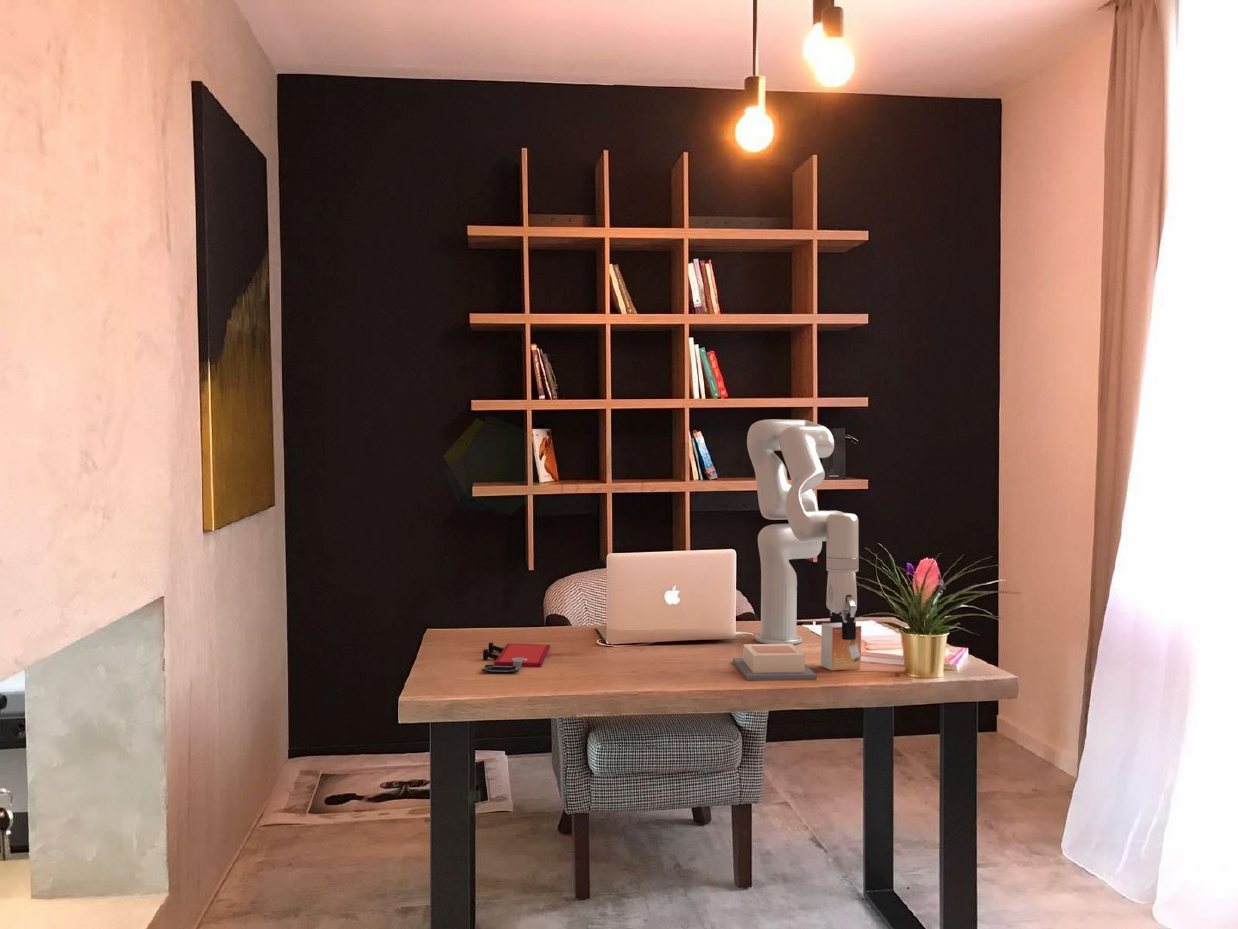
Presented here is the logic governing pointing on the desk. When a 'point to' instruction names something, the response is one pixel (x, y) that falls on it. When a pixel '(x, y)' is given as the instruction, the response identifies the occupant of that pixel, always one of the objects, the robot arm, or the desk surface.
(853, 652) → the small box
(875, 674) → the desk surface
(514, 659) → the red board with handle
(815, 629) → the desk surface
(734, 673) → the desk surface
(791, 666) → the build board
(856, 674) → the desk surface
